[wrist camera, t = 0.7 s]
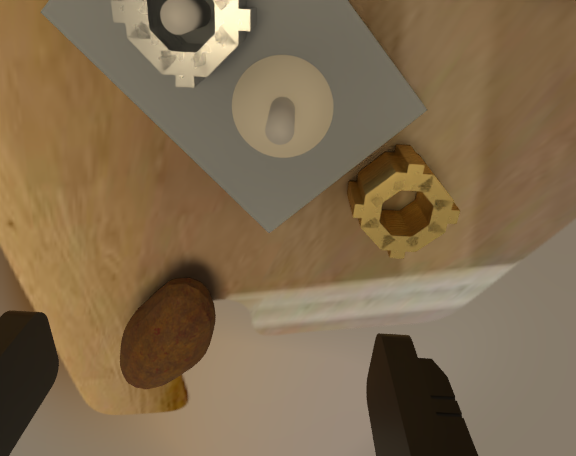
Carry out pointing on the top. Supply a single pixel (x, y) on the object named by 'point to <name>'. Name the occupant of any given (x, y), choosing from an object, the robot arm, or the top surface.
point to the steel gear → (173, 48)
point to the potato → (167, 334)
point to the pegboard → (260, 95)
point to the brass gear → (411, 219)
